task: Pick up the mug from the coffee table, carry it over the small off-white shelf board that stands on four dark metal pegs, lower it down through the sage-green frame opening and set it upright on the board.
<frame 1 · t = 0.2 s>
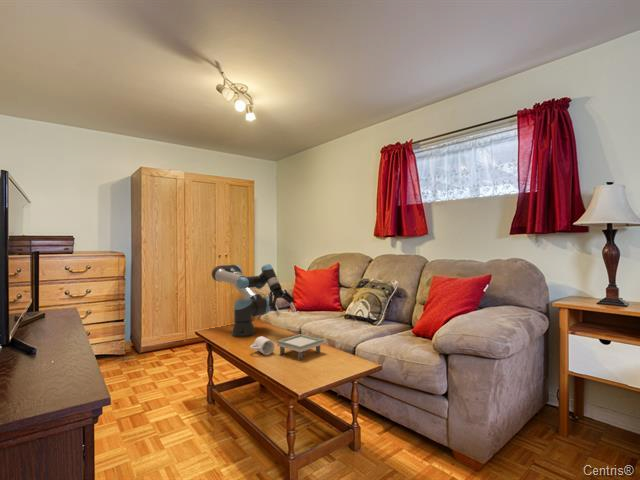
hand: (287, 313, 222), 16 cm above the table, tool tilted 35°, fingers open, 13 cm apart
mug: (260, 353, 191), on the table
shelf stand: (300, 353, 190), on the table
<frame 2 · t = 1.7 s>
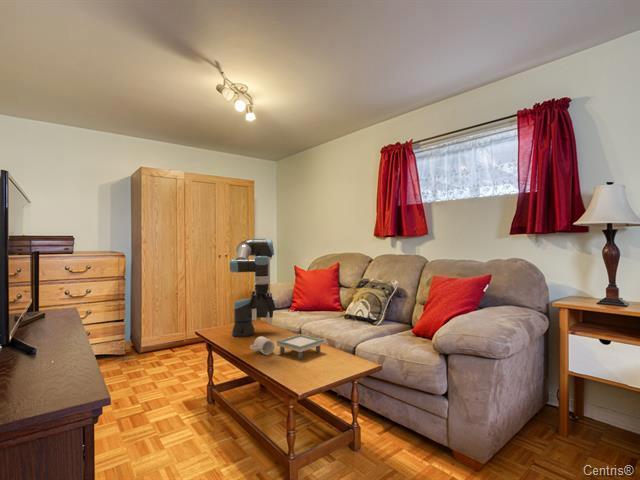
hand: (262, 321, 192), 17 cm above the table, tool pointing down, fingers open, 13 cm apart
nothing on the table moved.
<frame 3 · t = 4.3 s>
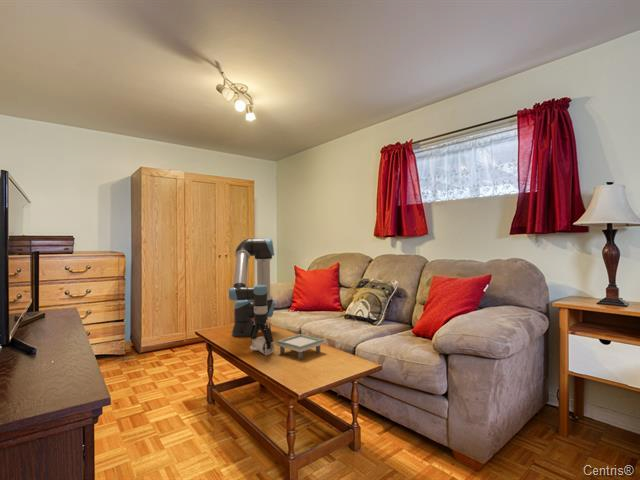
hand: (260, 352, 191), 0 cm above the table, tool pointing down, fingers open, 11 cm apart
mug: (260, 353, 191), on the table, touching gripper
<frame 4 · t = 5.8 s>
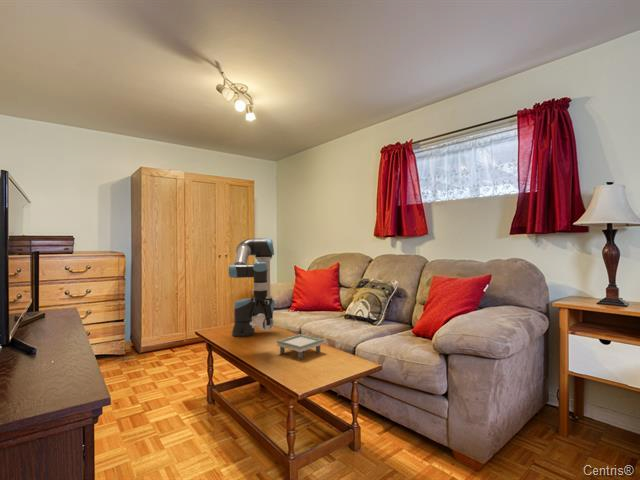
hand: (260, 329, 191), 13 cm above the table, tool pointing down, fingers closed on mug, 11 cm apart
mug: (260, 330, 191), point 13 cm above the table, touching gripper
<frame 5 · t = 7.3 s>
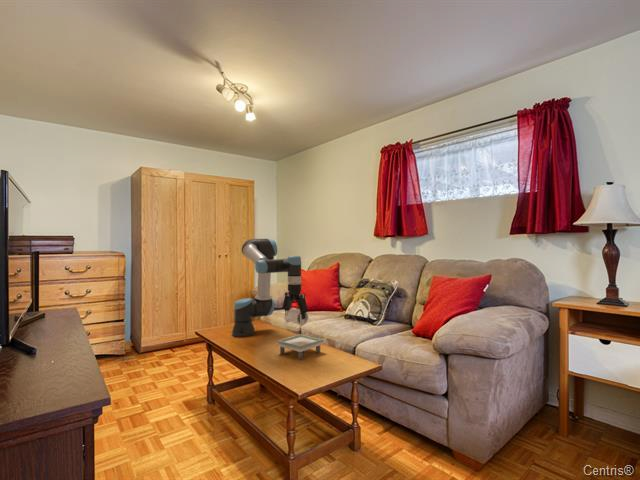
hand: (295, 323, 190), 16 cm above the table, tool pointing down, fingers closed on mug, 11 cm apart
mug: (294, 324, 190), point 16 cm above the table, touching gripper
when the fingers open (8 cm above the table, at t = 9.5 s): mug drops 2 cm, resting on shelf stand.
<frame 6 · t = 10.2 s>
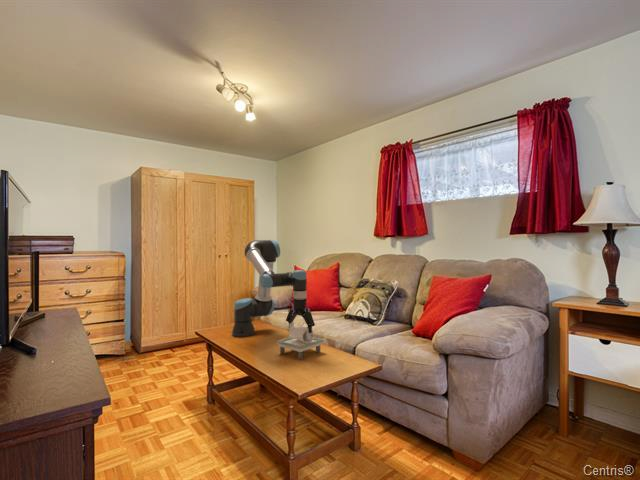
hand: (300, 336, 190), 9 cm above the table, tool pointing down, fingers open, 13 cm apart
mug: (300, 342, 190), point 6 cm above the table, touching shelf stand
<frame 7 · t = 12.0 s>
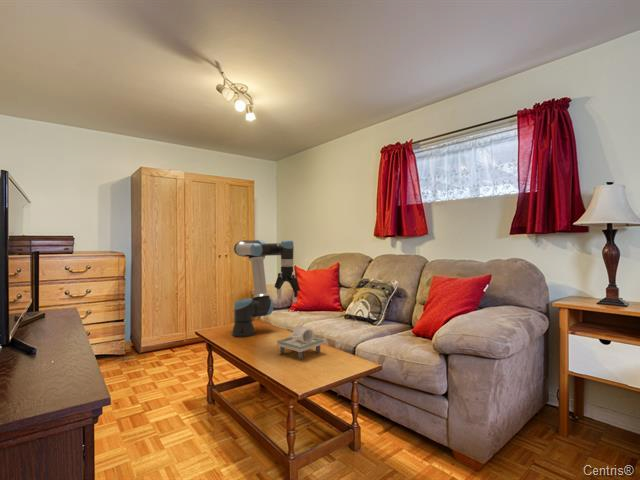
hand: (286, 301, 208), 26 cm above the table, tool pointing down, fingers open, 13 cm apart
nothing on the table moved.
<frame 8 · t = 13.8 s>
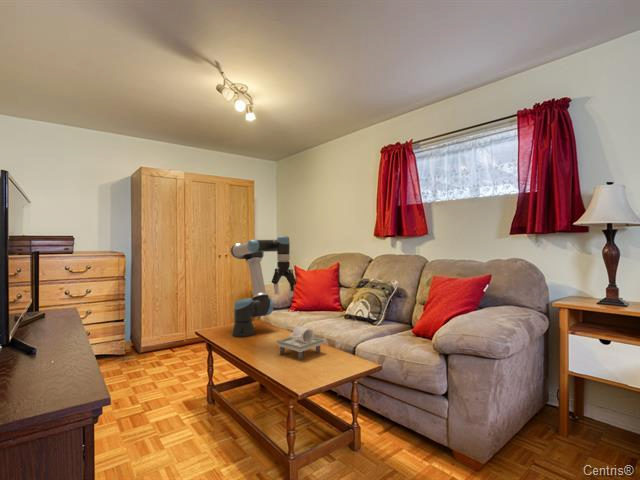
hand: (283, 295, 212), 29 cm above the table, tool pointing down, fingers open, 13 cm apart
nothing on the table moved.
at the end: mug inside the target area on the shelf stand (0.1 cm from its centre), point 5.8 cm above the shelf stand's base; mug tilted 0°; the gripper is holding nothing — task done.
